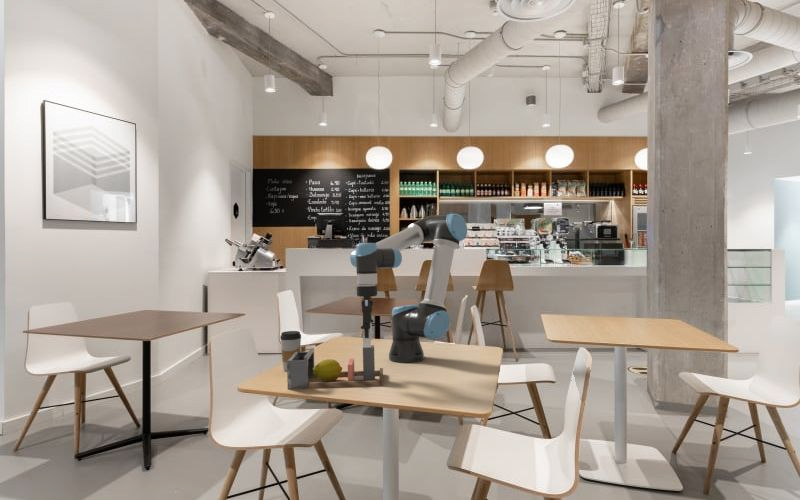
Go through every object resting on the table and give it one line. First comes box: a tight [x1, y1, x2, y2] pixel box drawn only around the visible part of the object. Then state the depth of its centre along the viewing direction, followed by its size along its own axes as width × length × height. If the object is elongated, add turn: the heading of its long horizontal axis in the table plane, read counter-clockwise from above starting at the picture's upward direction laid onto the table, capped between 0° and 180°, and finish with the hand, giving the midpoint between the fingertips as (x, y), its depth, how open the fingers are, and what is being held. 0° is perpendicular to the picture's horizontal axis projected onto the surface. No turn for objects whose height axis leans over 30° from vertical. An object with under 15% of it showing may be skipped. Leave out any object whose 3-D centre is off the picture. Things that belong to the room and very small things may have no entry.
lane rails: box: [307, 367, 384, 389], centre depth 174 cm, size 26×15×2 cm, turn 92°
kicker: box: [347, 344, 376, 381], centre depth 174 cm, size 9×10×12 cm
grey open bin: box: [286, 347, 315, 389], centre depth 174 cm, size 7×16×11 cm, turn 2°
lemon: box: [313, 358, 343, 382], centre depth 174 cm, size 11×8×8 cm
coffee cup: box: [279, 330, 302, 372], centre depth 193 cm, size 8×8×15 cm
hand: (367, 343), depth 174 cm, fingers open, 13 cm apart
